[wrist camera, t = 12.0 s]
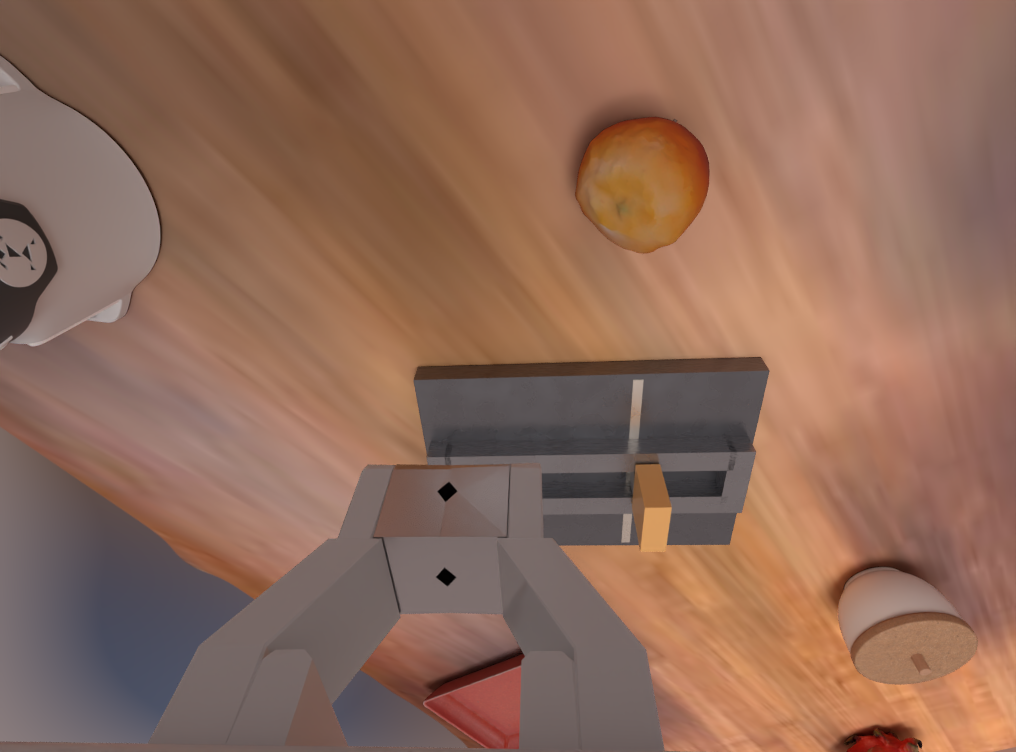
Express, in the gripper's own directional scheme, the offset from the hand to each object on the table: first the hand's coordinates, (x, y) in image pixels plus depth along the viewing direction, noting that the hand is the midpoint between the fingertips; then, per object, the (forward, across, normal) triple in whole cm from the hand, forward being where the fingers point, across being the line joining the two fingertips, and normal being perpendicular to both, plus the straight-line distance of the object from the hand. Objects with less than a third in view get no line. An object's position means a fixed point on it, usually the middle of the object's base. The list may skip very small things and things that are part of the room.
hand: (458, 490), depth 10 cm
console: (+32, -6, +27) cm, 43 cm away
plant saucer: (+33, +2, +70) cm, 77 cm away
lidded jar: (+32, -37, +46) cm, 67 cm away
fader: (+30, -11, +27) cm, 42 cm away
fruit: (+32, -8, +2) cm, 34 cm away
